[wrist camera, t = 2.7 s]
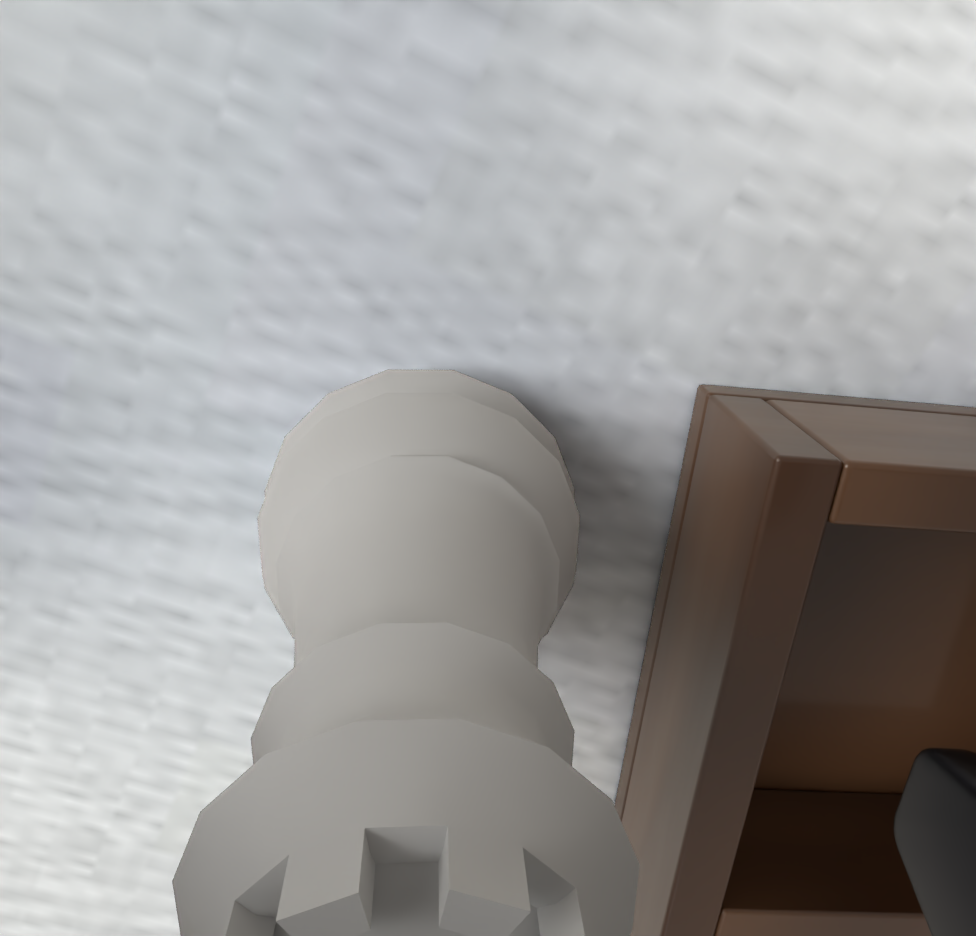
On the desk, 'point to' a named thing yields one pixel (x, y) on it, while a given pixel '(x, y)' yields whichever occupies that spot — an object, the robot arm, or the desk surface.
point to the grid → (801, 663)
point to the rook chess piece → (413, 688)
